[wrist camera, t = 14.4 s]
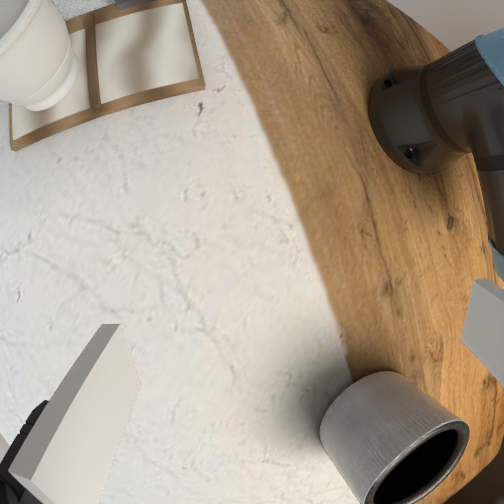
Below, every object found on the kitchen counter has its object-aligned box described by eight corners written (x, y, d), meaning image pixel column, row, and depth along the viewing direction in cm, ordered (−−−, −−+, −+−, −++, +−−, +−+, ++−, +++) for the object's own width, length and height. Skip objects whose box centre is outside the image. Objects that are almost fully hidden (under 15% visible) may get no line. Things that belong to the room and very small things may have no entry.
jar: (53, 33, 25) (7, -33, 10) (105, 59, 27) (65, -20, 12) (1, 101, 24) (-68, 58, 10) (48, 135, 27) (-29, 91, 12)
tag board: (183, -7, 28) (183, -26, 24) (204, 89, 31) (206, 73, 27) (16, 49, 25) (3, 36, 21) (15, 151, 27) (-2, 144, 23)
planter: (344, 465, 40) (386, 526, 25) (296, 419, 37) (341, 498, 22) (418, 404, 42) (476, 450, 26) (387, 346, 39) (462, 395, 23)
